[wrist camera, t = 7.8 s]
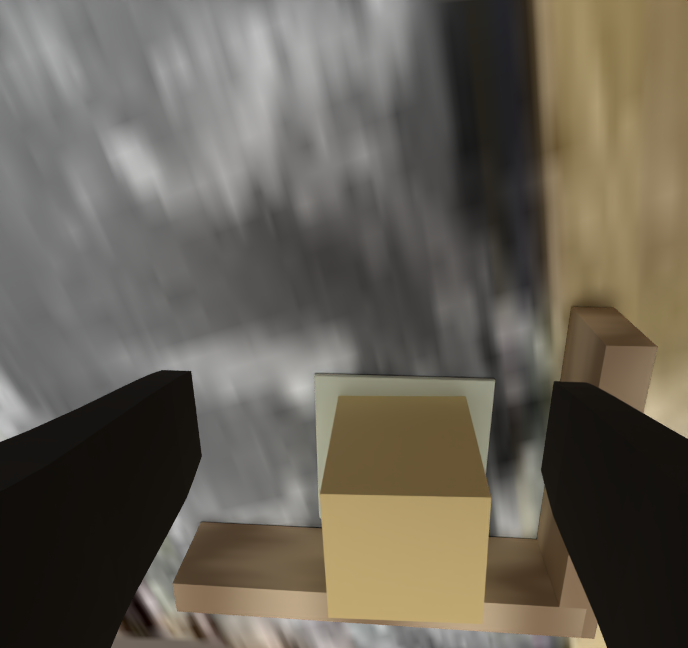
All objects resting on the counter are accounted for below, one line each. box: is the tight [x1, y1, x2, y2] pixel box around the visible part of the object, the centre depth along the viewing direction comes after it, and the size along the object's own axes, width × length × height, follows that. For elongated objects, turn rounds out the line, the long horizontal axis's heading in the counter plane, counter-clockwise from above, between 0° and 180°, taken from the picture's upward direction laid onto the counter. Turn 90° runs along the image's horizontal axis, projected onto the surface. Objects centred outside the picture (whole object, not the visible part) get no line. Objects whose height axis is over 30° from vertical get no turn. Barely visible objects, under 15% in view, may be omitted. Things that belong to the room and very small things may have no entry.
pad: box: [314, 374, 495, 518], centre depth 23 cm, size 7×7×1 cm
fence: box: [173, 307, 657, 639], centre depth 21 cm, size 16×12×4 cm
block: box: [320, 396, 491, 624], centre depth 20 cm, size 5×5×6 cm
